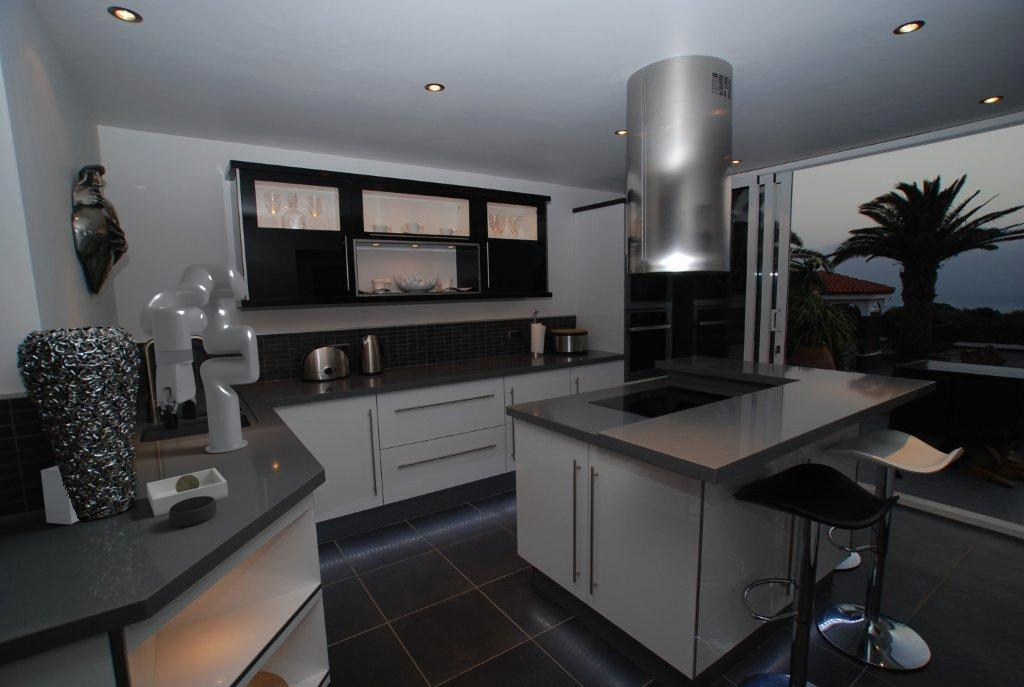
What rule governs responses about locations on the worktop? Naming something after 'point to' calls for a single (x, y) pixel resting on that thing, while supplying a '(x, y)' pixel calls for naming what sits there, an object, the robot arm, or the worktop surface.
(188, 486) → the lime
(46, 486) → the grey tall block
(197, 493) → the bin
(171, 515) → the smart speaker
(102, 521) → the worktop surface
